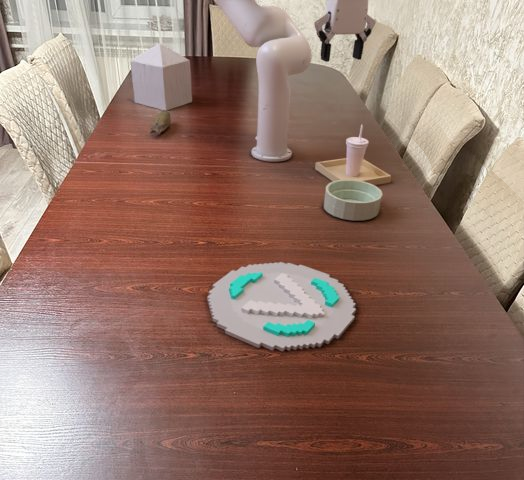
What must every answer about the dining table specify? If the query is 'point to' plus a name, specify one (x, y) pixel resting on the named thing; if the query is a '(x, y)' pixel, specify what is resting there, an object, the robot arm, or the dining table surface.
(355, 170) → the smoothie
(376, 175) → the tray
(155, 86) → the decorative block
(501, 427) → the dining table surface
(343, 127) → the dining table surface
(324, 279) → the grey pixelated disc
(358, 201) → the bowl
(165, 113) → the decorative bird model
